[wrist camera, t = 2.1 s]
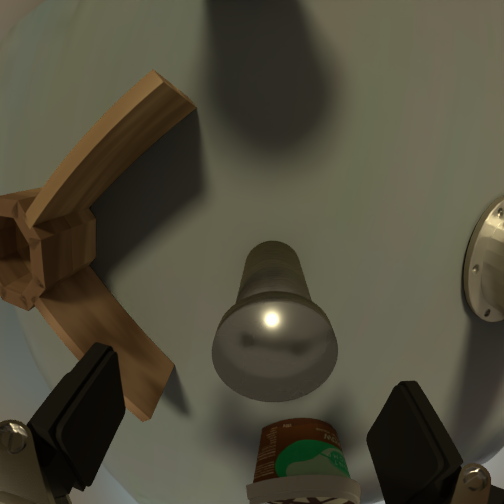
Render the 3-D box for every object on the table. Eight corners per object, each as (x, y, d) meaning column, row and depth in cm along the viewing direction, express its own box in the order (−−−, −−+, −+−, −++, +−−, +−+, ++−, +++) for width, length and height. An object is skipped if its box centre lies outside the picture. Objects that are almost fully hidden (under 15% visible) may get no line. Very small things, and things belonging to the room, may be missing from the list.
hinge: (321, 274, 22) (342, 321, 15) (144, 381, 26) (118, 430, 19) (163, 67, 18) (122, 32, 11) (22, 225, 22) (-29, 243, 15)
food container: (368, 435, 27) (388, 504, 17) (328, 460, 28) (337, 526, 19) (294, 392, 25) (301, 481, 15) (251, 422, 26) (244, 504, 17)
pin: (319, 274, 22) (358, 366, 11) (264, 310, 23) (260, 415, 12) (280, 220, 21) (293, 276, 10) (224, 259, 22) (186, 343, 11)
